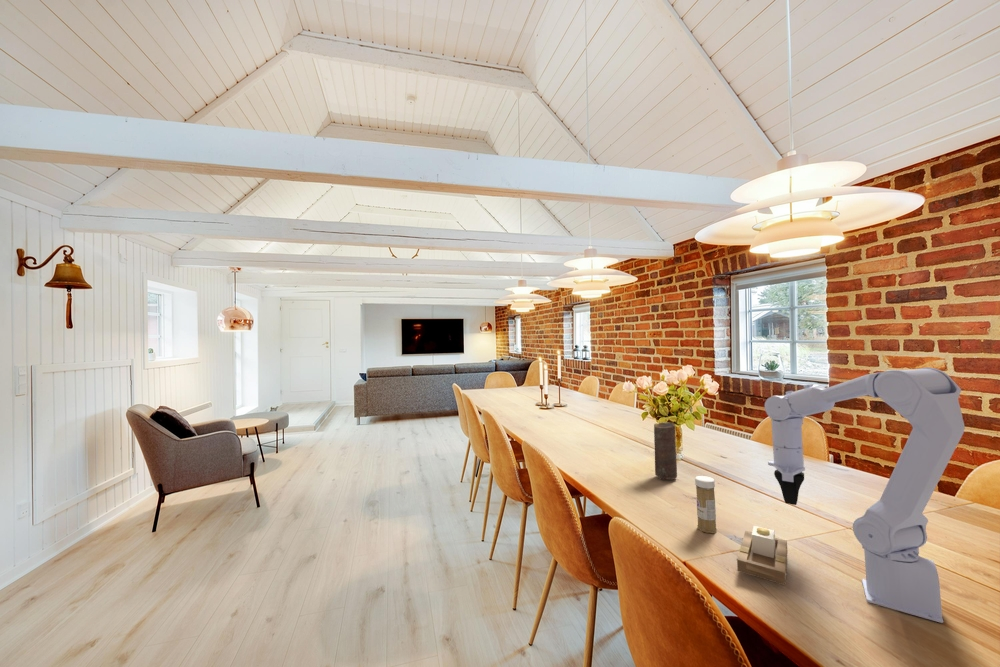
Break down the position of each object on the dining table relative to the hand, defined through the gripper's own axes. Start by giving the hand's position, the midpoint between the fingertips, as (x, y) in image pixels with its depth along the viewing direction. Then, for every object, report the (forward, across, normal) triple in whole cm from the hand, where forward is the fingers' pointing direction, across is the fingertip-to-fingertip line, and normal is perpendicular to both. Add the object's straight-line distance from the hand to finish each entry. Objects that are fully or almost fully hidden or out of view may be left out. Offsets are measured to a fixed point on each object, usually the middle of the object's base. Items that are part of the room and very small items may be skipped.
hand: (790, 503), depth 90 cm
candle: (+11, -31, -37) cm, 50 cm away
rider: (+8, +10, -5) cm, 14 cm away
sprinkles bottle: (+11, +2, -18) cm, 21 cm away
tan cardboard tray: (+10, +13, -5) cm, 17 cm away
